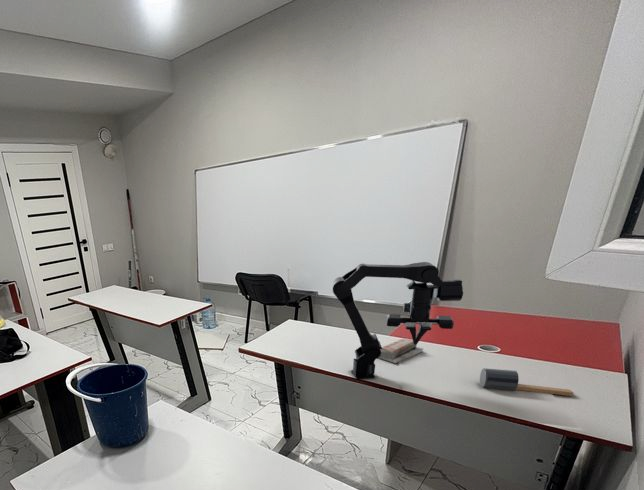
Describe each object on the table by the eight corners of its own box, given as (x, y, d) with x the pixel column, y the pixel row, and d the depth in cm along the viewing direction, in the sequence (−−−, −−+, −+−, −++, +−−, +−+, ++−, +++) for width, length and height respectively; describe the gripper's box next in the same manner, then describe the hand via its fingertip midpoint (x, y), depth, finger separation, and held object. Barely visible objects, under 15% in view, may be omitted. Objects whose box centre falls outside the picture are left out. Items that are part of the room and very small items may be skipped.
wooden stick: (494, 383, 116) (573, 392, 108) (492, 380, 118) (569, 389, 110) (493, 387, 117) (572, 396, 109) (491, 384, 119) (568, 393, 111)
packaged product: (397, 353, 138) (373, 346, 146) (396, 364, 140) (372, 356, 148) (425, 340, 145) (400, 334, 154) (423, 351, 147) (399, 345, 156)
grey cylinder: (487, 378, 114) (520, 381, 111) (484, 364, 118) (516, 366, 114) (481, 391, 118) (513, 394, 115) (478, 376, 122) (509, 379, 119)
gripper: (451, 295, 121) (443, 337, 127) (388, 294, 130) (384, 334, 136) (457, 304, 112) (449, 349, 118) (389, 303, 121) (384, 345, 127)
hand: (415, 344), depth 125 cm, fingers closed
